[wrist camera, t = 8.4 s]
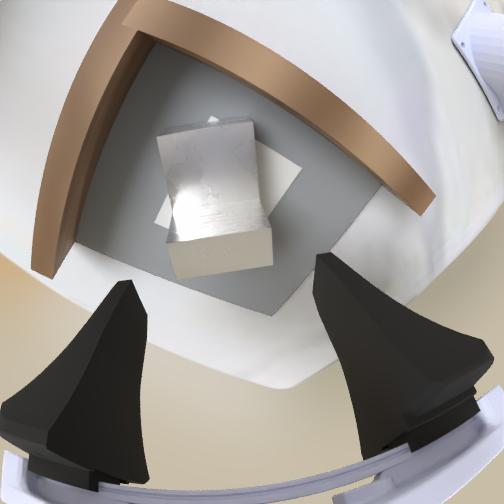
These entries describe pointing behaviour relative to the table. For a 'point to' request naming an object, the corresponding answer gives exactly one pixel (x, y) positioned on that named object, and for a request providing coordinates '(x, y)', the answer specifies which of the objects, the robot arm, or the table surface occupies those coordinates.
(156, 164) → the mat
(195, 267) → the aluminium bracket
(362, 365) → the robot arm
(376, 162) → the corner walls
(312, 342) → the table surface
